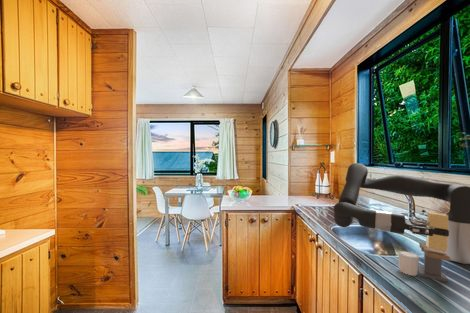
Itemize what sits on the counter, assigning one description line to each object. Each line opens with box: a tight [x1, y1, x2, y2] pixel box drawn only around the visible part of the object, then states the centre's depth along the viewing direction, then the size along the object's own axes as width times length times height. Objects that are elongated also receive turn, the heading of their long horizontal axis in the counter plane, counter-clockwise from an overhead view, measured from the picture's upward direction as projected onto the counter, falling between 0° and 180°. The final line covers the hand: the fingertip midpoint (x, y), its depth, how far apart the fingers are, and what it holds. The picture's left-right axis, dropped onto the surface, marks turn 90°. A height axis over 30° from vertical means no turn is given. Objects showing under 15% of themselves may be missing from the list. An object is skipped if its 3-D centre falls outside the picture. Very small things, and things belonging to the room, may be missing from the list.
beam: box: [418, 241, 451, 262], centre depth 92 cm, size 20×7×2 cm, turn 149°
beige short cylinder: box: [397, 250, 421, 276], centre depth 95 cm, size 7×7×7 cm
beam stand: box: [417, 252, 448, 283], centre depth 92 cm, size 5×8×8 cm, turn 59°
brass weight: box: [425, 211, 448, 251], centre depth 86 cm, size 5×5×12 cm
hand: (446, 231), depth 85 cm, fingers closed on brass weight, 5 cm apart
